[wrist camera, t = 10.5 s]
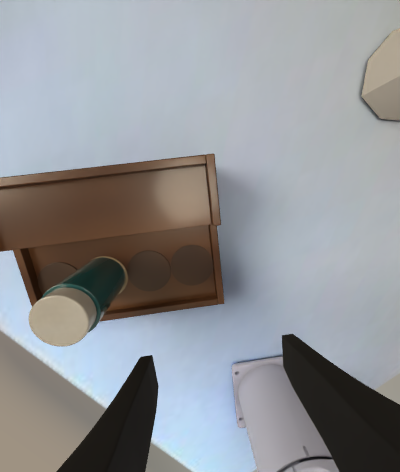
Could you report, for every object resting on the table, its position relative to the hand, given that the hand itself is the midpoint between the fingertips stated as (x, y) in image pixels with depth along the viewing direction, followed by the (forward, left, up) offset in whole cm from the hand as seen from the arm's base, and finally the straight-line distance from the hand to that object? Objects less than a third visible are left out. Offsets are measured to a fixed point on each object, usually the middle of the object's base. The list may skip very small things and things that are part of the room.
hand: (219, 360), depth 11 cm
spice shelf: (+5, +7, -10) cm, 13 cm away
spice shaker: (+3, +9, -8) cm, 13 cm away
